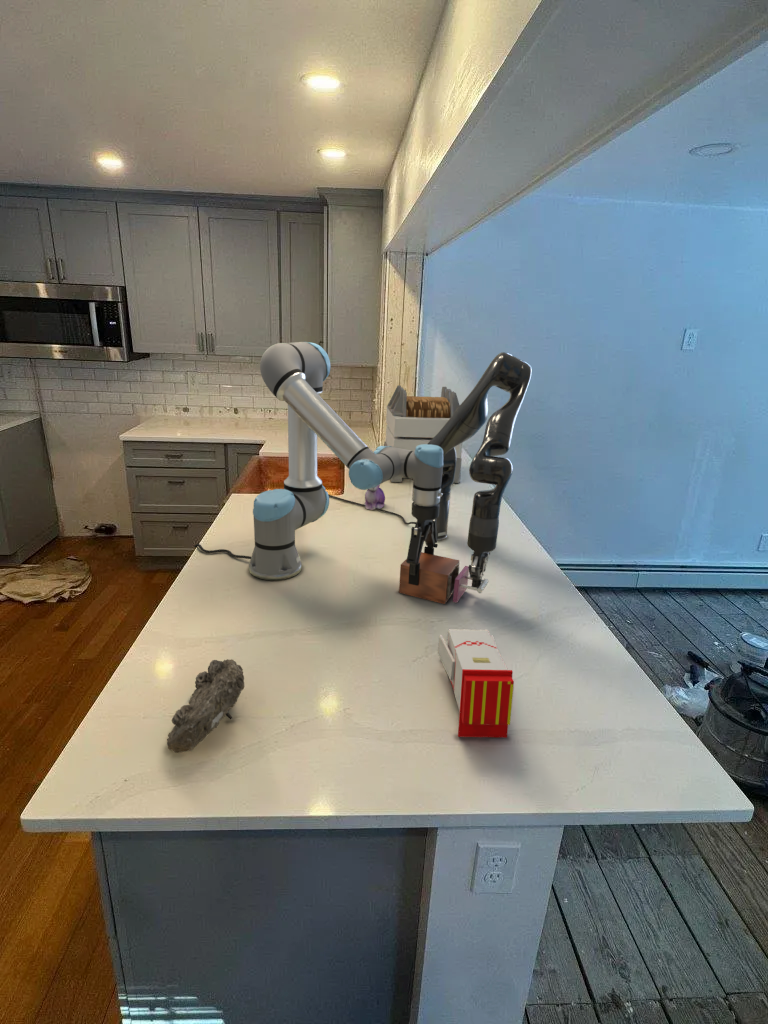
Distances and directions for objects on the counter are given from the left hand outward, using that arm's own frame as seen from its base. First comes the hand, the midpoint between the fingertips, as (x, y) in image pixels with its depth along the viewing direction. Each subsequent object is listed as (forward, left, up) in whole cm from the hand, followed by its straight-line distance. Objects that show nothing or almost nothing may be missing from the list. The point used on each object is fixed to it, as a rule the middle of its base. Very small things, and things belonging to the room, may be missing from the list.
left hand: (420, 575), depth 160 cm
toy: (+17, -43, -4) cm, 47 cm away
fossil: (-30, -64, -4) cm, 71 cm away
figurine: (-28, +64, -4) cm, 70 cm away
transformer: (-18, +119, -4) cm, 121 cm away
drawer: (+9, -2, -3) cm, 10 cm away
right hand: (+16, -3, 0) cm, 16 cm away
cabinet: (+2, -1, -4) cm, 5 cm away
